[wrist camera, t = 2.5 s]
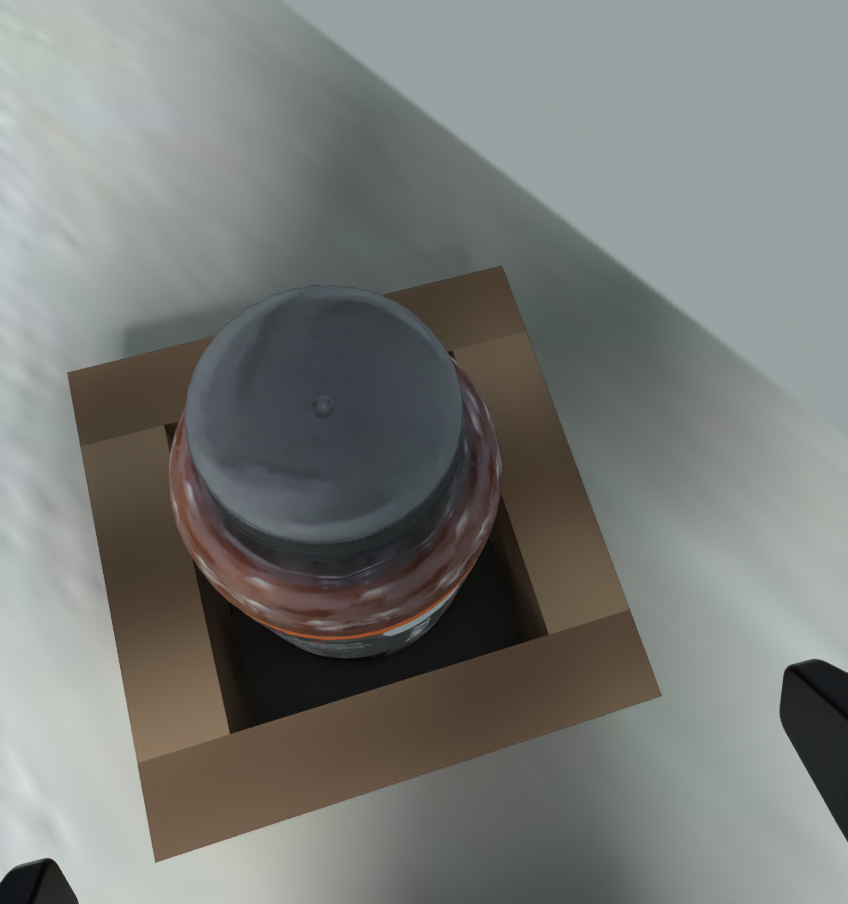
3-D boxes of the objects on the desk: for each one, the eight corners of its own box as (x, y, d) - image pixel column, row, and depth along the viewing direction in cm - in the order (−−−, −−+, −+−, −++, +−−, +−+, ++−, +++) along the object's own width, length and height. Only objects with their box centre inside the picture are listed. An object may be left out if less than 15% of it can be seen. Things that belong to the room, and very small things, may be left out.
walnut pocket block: (618, 695, 21) (661, 696, 17) (196, 834, 19) (155, 862, 16) (486, 325, 24) (501, 265, 21) (115, 420, 22) (67, 372, 19)
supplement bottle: (477, 647, 21) (570, 596, 10) (256, 677, 20) (108, 656, 10) (446, 440, 23) (498, 209, 12) (242, 463, 22) (104, 244, 11)
